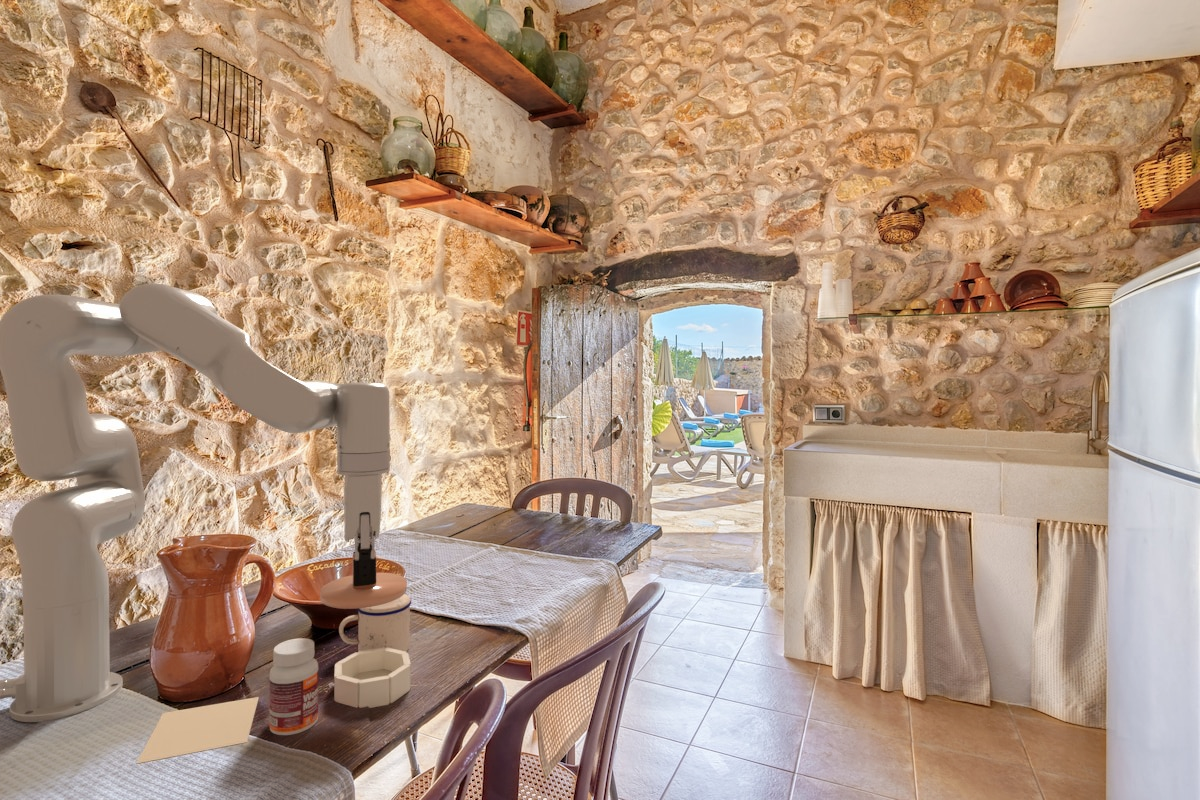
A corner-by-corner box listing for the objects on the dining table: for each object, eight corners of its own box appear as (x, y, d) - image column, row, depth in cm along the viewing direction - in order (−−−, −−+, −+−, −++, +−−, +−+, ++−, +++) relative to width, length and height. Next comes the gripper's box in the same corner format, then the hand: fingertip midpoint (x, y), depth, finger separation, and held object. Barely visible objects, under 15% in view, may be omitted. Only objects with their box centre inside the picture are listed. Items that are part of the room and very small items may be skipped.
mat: (136, 766, 74) (136, 763, 74) (163, 715, 85) (163, 712, 85) (246, 744, 79) (246, 742, 79) (258, 699, 90) (258, 696, 90)
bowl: (333, 714, 86) (334, 687, 86) (335, 679, 96) (335, 654, 96) (412, 699, 91) (413, 674, 90) (405, 667, 101) (406, 644, 100)
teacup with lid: (405, 636, 113) (405, 575, 112) (415, 656, 105) (416, 591, 104) (336, 649, 107) (336, 585, 106) (341, 671, 99) (342, 602, 98)
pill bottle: (312, 735, 81) (312, 654, 81) (262, 740, 80) (263, 657, 79) (322, 710, 87) (323, 634, 87) (276, 715, 86) (277, 638, 85)
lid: (318, 613, 84) (318, 570, 84) (322, 585, 95) (322, 547, 95) (410, 601, 89) (409, 560, 88) (403, 576, 100) (403, 539, 100)
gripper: (338, 457, 97) (339, 567, 98) (336, 472, 82) (337, 602, 83) (386, 455, 100) (387, 562, 101) (393, 469, 85) (393, 595, 86)
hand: (364, 579), depth 92 cm, fingers closed on lid, 3 cm apart
